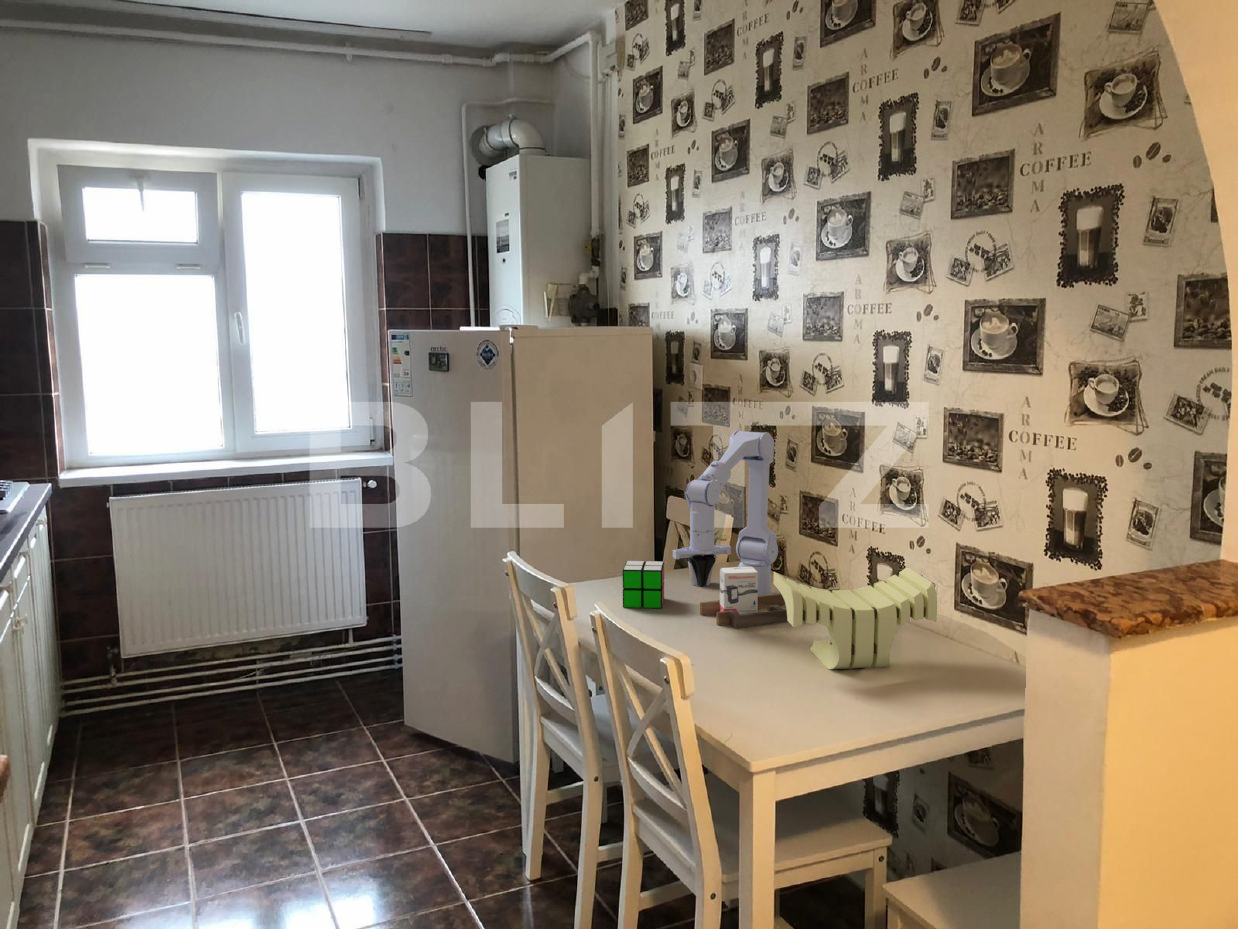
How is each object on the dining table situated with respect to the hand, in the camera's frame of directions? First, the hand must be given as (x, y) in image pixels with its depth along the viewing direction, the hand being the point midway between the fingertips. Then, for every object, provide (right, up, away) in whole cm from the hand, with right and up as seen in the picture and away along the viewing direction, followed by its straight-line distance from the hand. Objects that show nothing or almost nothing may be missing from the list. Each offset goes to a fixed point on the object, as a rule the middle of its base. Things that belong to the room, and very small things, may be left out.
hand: (701, 585), depth 237 cm
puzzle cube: (-14, -7, +17) cm, 23 cm away
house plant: (+4, -4, +35) cm, 36 cm away
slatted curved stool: (+29, -13, -27) cm, 42 cm away
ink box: (+9, -8, +5) cm, 13 cm away
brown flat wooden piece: (+17, -8, +6) cm, 20 cm away
